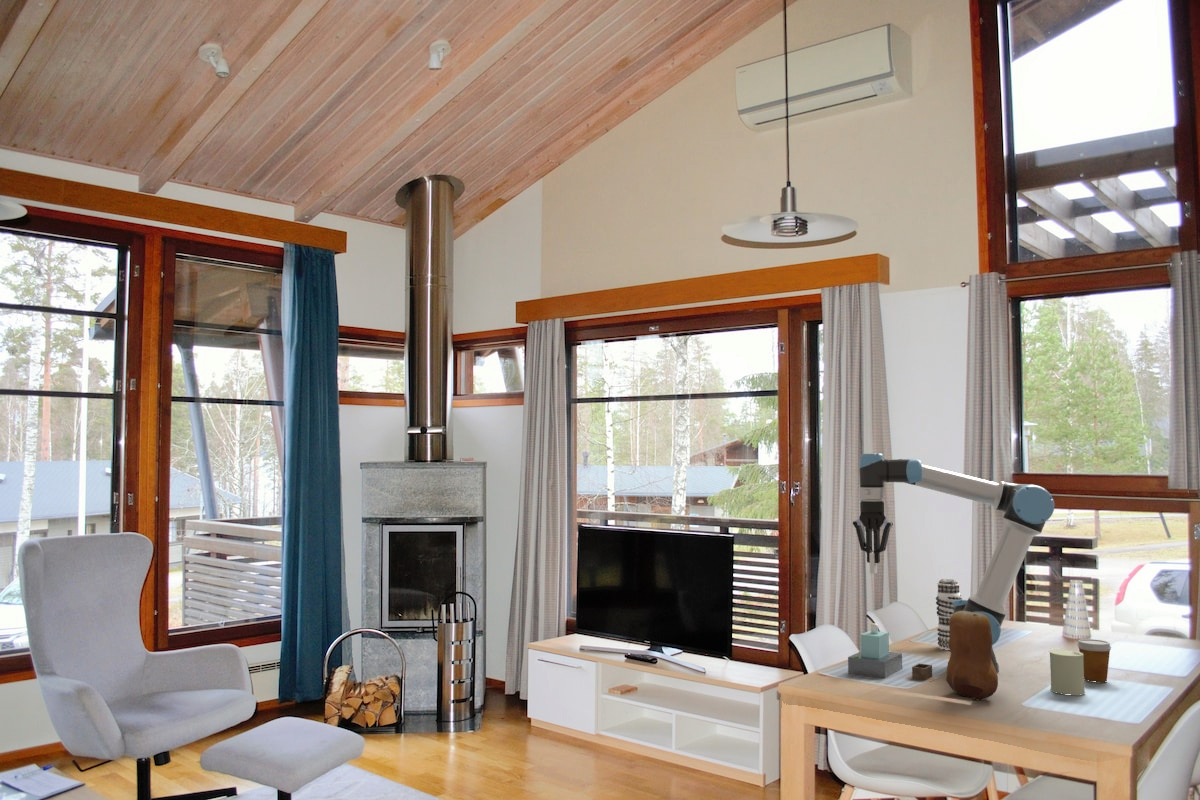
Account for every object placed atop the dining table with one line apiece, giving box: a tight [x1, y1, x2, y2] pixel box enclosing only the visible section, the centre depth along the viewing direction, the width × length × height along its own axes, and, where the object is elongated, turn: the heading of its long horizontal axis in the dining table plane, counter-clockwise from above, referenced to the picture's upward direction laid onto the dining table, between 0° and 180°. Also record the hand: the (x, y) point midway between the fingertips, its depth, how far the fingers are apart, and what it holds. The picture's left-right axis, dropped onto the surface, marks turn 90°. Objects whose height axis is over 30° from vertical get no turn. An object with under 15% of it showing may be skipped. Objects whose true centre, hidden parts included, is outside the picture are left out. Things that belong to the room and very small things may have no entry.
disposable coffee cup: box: [1077, 638, 1112, 683], centre depth 289 cm, size 10×10×12 cm
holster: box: [905, 663, 939, 683], centre depth 288 cm, size 8×8×4 cm
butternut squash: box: [945, 611, 999, 701], centre depth 267 cm, size 14×13×25 cm
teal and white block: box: [860, 622, 890, 659], centre depth 298 cm, size 6×9×14 cm, turn 143°
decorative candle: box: [935, 578, 963, 651], centre depth 338 cm, size 9×9×25 cm
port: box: [847, 651, 903, 679], centre depth 297 cm, size 12×16×6 cm
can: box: [1049, 649, 1086, 696], centre depth 275 cm, size 9×9×12 cm
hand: (873, 573), depth 299 cm, fingers closed
